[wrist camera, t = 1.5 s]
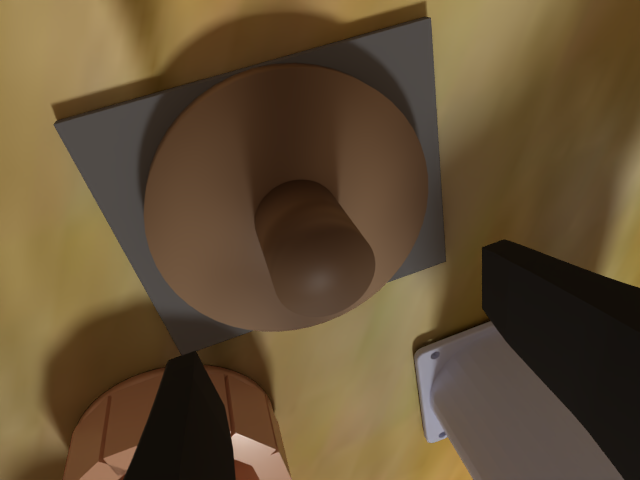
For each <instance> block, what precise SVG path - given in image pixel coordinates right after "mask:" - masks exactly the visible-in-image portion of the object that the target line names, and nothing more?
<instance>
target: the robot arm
mask: <svg viewBox="0 0 640 480" xmlns="http://www.w3.org/2000/svg"><path fill="white" fill-rule="evenodd" d="M482 309H483V310H484V312H485V313H486V314H487V316H488V317H489V319H490V320H491V321H490V322H487V323H484V324H482V325H479V326H477V327H474V328H471V329H469V330H466V331H463V332H461V333H458V334H456V335H453V336H450V337H448V338H445V339H442V340H440V341H437V342H435V343H432V344H429V345H427V346H424V347H422V348H420V349H418V350H417V351H416V353H415V355H414V360H415V367H416V375H417V383H418V390H419V398H420V405H421V413H422V421H423V428H424V436H425V438H426V440H427V441H428V442H429V443H434V442H437V441H439V440H442V439H444V438H447V437H448V438H449V440H450V441H451V443H452V445H453V446H454V448H455V450H456V451H457V453H458V455H459V456H460V458H461V460H462V461H463V463H464V465H465V466H466V468H467V470H468V471H469V473H470V475H471V476H472V478H473V480H640V288H638V287H635V286H632V285H629V284H625V283H622V282H619V281H616V280H614V279H611V278H608V277H605V276H602V275H599V274H596V273H594V272H591V271H588V270H585V269H583V268H580V267H577V266H575V265H572V264H569V263H567V262H564V261H561V260H559V259H556V258H554V257H551V256H548V255H546V254H543V253H541V252H538V251H535V250H533V249H530V248H527V247H525V246H522V245H519V244H516V243H514V242H511V241H508V240H505V239H504V240H501V241H498V242H496V243H493V244H490V245H487V246H485V247H482ZM123 480H236V477H235V465H234V453H233V445H232V440H231V434H230V429H229V424H228V419H227V414H226V409H225V405H224V404H223V402H222V400H221V398H220V396H219V394H218V392H217V390H216V388H215V386H214V385H213V383H212V381H211V379H210V377H209V375H208V373H207V371H206V369H205V368H204V366H203V364H202V362H201V360H200V358H199V356H198V354H197V352H196V351H193V352H190V353H187V354H185V355H182V356H179V357H176V358H173V359H171V360H169V361H168V363H167V365H166V367H165V370H164V373H163V376H162V379H161V382H160V385H159V388H158V391H157V394H156V397H155V400H154V403H153V406H152V408H151V411H150V414H149V417H148V419H147V422H146V425H145V427H144V430H143V432H142V435H141V437H140V440H139V443H138V445H137V448H136V450H135V453H134V455H133V458H132V460H131V462H130V465H129V467H128V469H127V471H126V474H125V476H124V478H123Z"/></svg>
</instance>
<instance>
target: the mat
mask: <svg viewBox="0 0 640 480" xmlns="http://www.w3.org/2000/svg"><path fill="white" fill-rule="evenodd" d="M281 63H304V64H315V65H320V66H324V67H328V68H333V69H335V70H338V71H341V72H343V73H346V74H348V75H351V76H353V77H355V78H356V79H358V80H360V81H362V82H363V83H365V84H367V85H369V86H370V87H372V88H374V89H376V90H377V91H379V92H380V93H381V94H383V95H384V96H385V97H386V98H388V99H389V100H390V101H391V102H392V103H393V104H394V105H395V106H396V107H397V108H398V109H399V110H400V111H401V112H402V113H403V114H404V116H405V117H406V119H407V120H408V122H409V123H410V125H411V126H412V128H413V129H414V131H415V133H416V135H417V137H418V139H419V142H420V144H421V146H422V150H423V153H424V156H425V160H426V166H427V172H428V200H427V209H426V213H425V217H424V221H423V224H422V227H421V230H420V232H419V235H418V238H417V240H416V242H415V244H414V246H413V248H412V250H411V252H410V253H409V255H408V257H407V258H406V260H405V261H404V263H403V264H402V266H401V267H400V268H399V269H398V271H397V272H396V273H395V274H394V275H393V277H392V278H391V279H390V280H389V281H388V282H390V281H393V280H396V279H399V278H401V277H404V276H407V275H410V274H412V273H415V272H418V271H421V270H424V269H426V268H429V267H432V266H435V265H438V264H440V263H443V262H446V254H445V238H444V222H443V206H442V189H441V173H440V157H439V141H438V125H437V109H436V93H435V77H434V61H433V44H432V28H431V18H429V17H423V18H419V19H416V20H412V21H409V22H405V23H402V24H398V25H395V26H391V27H387V28H384V29H380V30H377V31H373V32H370V33H366V34H363V35H359V36H356V37H352V38H348V39H345V40H341V41H338V42H334V43H331V44H327V45H324V46H320V47H317V48H313V49H310V50H306V51H302V52H299V53H295V54H292V55H288V56H285V57H281V58H278V59H274V60H271V61H267V62H263V63H260V64H256V65H253V66H249V67H246V68H242V69H239V70H235V71H232V72H228V73H224V74H221V75H217V76H214V77H210V78H207V79H203V80H200V81H196V82H193V83H189V84H185V85H182V86H178V87H175V88H171V89H168V90H164V91H161V92H157V93H154V94H150V95H147V96H143V97H139V98H136V99H132V100H129V101H125V102H122V103H118V104H115V105H111V106H108V107H104V108H100V109H97V110H93V111H90V112H86V113H83V114H79V115H76V116H72V117H69V118H65V119H61V120H58V121H56V122H55V123H54V126H55V128H56V130H57V132H58V134H59V135H60V137H61V139H62V141H63V143H64V144H65V146H66V148H67V150H68V152H69V153H70V155H71V157H72V159H73V161H74V162H75V164H76V166H77V168H78V170H79V171H80V173H81V175H82V177H83V179H84V180H85V182H86V184H87V186H88V188H89V189H90V191H91V193H92V195H93V197H94V198H95V200H96V202H97V204H98V206H99V207H100V209H101V211H102V213H103V215H104V216H105V218H106V220H107V222H108V224H109V225H110V227H111V229H112V231H113V233H114V234H115V236H116V238H117V240H118V242H119V243H120V245H121V247H122V249H123V251H124V252H125V254H126V256H127V258H128V260H129V261H130V263H131V265H132V267H133V269H134V270H135V272H136V274H137V276H138V278H139V279H140V281H141V283H142V285H143V287H144V288H145V290H146V292H147V294H148V296H149V297H150V299H151V301H152V303H153V305H154V306H155V308H156V310H157V312H158V314H159V315H160V317H161V319H162V321H163V323H164V324H165V326H166V328H167V330H168V332H169V333H170V335H171V337H172V339H173V341H174V342H175V344H176V346H177V348H178V350H179V351H180V353H181V355H185V354H187V353H190V352H193V351H198V350H200V349H203V348H206V347H209V346H212V345H214V344H217V343H220V342H223V341H226V340H228V339H231V338H234V337H237V336H240V335H242V334H245V333H248V332H251V331H253V330H246V329H242V328H238V327H233V326H230V325H227V324H224V323H221V322H218V321H216V320H214V319H212V318H210V317H208V316H206V315H204V314H202V313H200V312H199V311H197V310H196V309H194V308H193V307H191V306H190V305H188V304H187V303H186V302H185V301H184V300H183V299H182V298H180V297H179V296H178V295H177V294H176V293H175V292H174V291H173V289H172V288H171V287H170V286H169V285H168V283H167V282H166V281H165V280H164V278H163V276H162V275H161V273H160V271H159V270H158V268H157V267H156V264H155V262H154V260H153V257H152V255H151V253H150V250H149V246H148V242H147V238H146V234H145V225H144V202H145V191H146V183H147V179H148V174H149V170H150V165H151V163H152V160H153V157H154V155H155V152H156V150H157V147H158V145H159V144H160V142H161V140H162V138H163V137H164V135H165V133H166V131H167V130H168V128H169V127H170V126H171V124H172V123H173V122H174V120H175V119H176V118H177V117H178V115H179V114H180V113H181V112H182V111H183V110H184V109H185V108H186V107H187V106H188V105H189V104H190V103H191V102H192V101H193V100H194V99H195V98H197V97H198V96H199V95H201V94H202V93H204V92H205V91H206V90H208V89H209V88H211V87H212V86H213V85H215V84H217V83H219V82H221V81H223V80H225V79H227V78H229V77H231V76H233V75H235V74H238V73H241V72H244V71H246V70H249V69H252V68H256V67H261V66H266V65H271V64H281Z"/></svg>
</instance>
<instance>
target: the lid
mask: <svg viewBox="0 0 640 480" xmlns="http://www.w3.org/2000/svg"><path fill="white" fill-rule="evenodd" d="M427 200H428V172H427V166H426V160H425V156H424V153H423V150H422V146H421V144H420V142H419V139H418V137H417V135H416V133H415V131H414V129H413V128H412V126H411V125H410V123H409V122H408V120H407V119H406V117H405V116H404V114H403V113H402V112H401V111H400V110H399V109H398V108H397V107H396V106H395V105H394V104H393V103H392V102H391V101H390V100H389V99H388V98H386V97H385V96H384V95H383V94H381V93H380V92H379V91H377V90H376V89H374V88H372V87H370V86H369V85H367V84H365V83H363V82H362V81H360V80H358V79H356V78H355V77H353V76H351V75H348V74H346V73H343V72H341V71H338V70H335V69H333V68H328V67H324V66H320V65H315V64H304V63H281V64H271V65H266V66H261V67H256V68H252V69H249V70H246V71H244V72H241V73H238V74H235V75H233V76H231V77H229V78H227V79H225V80H223V81H221V82H219V83H217V84H215V85H213V86H212V87H211V88H209V89H208V90H206V91H205V92H204V93H202V94H201V95H199V96H198V97H197V98H195V99H194V100H193V101H192V102H191V103H190V104H189V105H188V106H187V107H186V108H185V109H184V110H183V111H182V112H181V113H180V114H179V115H178V117H177V118H176V119H175V120H174V122H173V123H172V124H171V126H170V127H169V128H168V130H167V131H166V133H165V135H164V137H163V138H162V140H161V142H160V144H159V145H158V147H157V150H156V152H155V155H154V157H153V160H152V163H151V165H150V170H149V174H148V179H147V183H146V191H145V202H144V225H145V234H146V238H147V242H148V246H149V250H150V253H151V255H152V257H153V260H154V262H155V264H156V267H157V268H158V270H159V271H160V273H161V275H162V276H163V278H164V280H165V281H166V282H167V283H168V285H169V286H170V287H171V288H172V289H173V291H174V292H175V293H176V294H177V295H178V296H179V297H180V298H182V299H183V300H184V301H185V302H186V303H187V304H188V305H190V306H191V307H193V308H194V309H196V310H197V311H199V312H200V313H202V314H204V315H206V316H208V317H210V318H212V319H214V320H216V321H218V322H221V323H224V324H227V325H230V326H233V327H238V328H242V329H246V330H255V331H288V330H297V329H301V328H306V327H311V326H314V325H318V324H321V323H324V322H327V321H329V320H332V319H334V318H336V317H339V316H341V315H343V314H345V313H347V312H349V311H350V310H352V309H354V308H356V307H357V306H359V305H360V304H362V303H363V302H365V301H366V300H368V299H369V298H370V297H371V296H373V295H374V294H375V293H376V292H377V291H379V290H380V289H381V288H382V287H383V286H384V285H385V284H386V283H387V282H388V281H389V280H390V279H391V278H392V277H393V275H394V274H395V273H396V272H397V271H398V269H399V268H400V267H401V266H402V264H403V263H404V261H405V260H406V258H407V257H408V255H409V253H410V252H411V250H412V248H413V246H414V244H415V242H416V240H417V238H418V235H419V232H420V230H421V227H422V224H423V221H424V217H425V213H426V209H427Z"/></svg>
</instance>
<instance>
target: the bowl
mask: <svg viewBox="0 0 640 480" xmlns="http://www.w3.org/2000/svg"><path fill="white" fill-rule="evenodd" d="M203 366H204V368H205V369H206V371H207V373H208V375H209V377H210V379H211V381H212V383H213V385H214V386H215V388H216V390H217V392H218V394H219V396H220V398H221V400H222V402H223V404H224V405H225V409H226V414H227V419H228V424H229V429H230V434H231V440H232V445H233V453H234V465H235V477H236V480H292V479H291V475H290V471H289V466H288V462H287V458H286V454H285V450H284V445H283V441H282V437H281V433H280V429H279V424H278V421H277V419H276V417H275V414H274V412H273V408H272V405H271V402H270V399H269V398H268V396H267V394H266V393H265V392H264V390H263V389H262V388H261V387H260V386H259V385H258V384H257V383H255V382H254V381H253V380H251V379H250V378H248V377H246V376H245V375H242V374H240V373H238V372H235V371H232V370H229V369H226V368H222V367H216V366H210V365H203ZM164 370H165V367H164V368H160V369H155V370H151V371H148V372H145V373H142V374H139V375H136V376H134V377H131V378H129V379H127V380H125V381H123V382H121V383H119V384H117V385H115V386H114V387H112V388H111V389H109V390H108V391H106V392H105V393H103V394H102V395H101V396H100V397H98V398H97V399H96V400H95V401H94V402H93V403H92V404H91V405H90V406H89V407H88V409H87V410H86V411H85V412H84V414H83V415H82V417H81V418H80V420H79V422H78V424H77V426H76V427H75V429H74V432H73V433H72V438H71V442H70V447H69V452H68V456H67V461H66V466H65V470H64V475H63V479H62V480H123V478H124V476H125V474H126V471H127V469H128V467H129V465H130V462H131V460H132V458H133V455H134V453H135V450H136V448H137V445H138V443H139V440H140V437H141V435H142V432H143V430H144V427H145V425H146V422H147V419H148V417H149V414H150V411H151V408H152V406H153V403H154V400H155V397H156V394H157V391H158V388H159V385H160V382H161V379H162V376H163V373H164Z"/></svg>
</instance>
